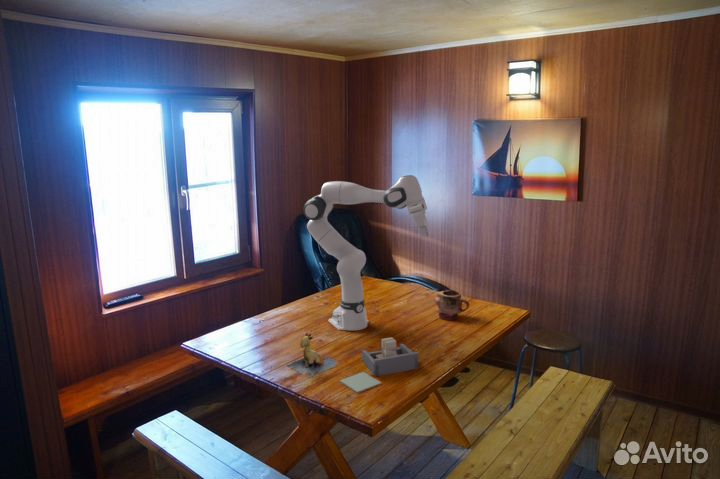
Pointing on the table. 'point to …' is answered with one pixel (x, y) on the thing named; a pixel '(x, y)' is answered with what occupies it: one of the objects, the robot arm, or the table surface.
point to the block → (388, 347)
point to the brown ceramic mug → (450, 304)
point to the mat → (360, 382)
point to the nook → (390, 361)
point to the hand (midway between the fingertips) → (426, 236)
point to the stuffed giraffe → (311, 359)
